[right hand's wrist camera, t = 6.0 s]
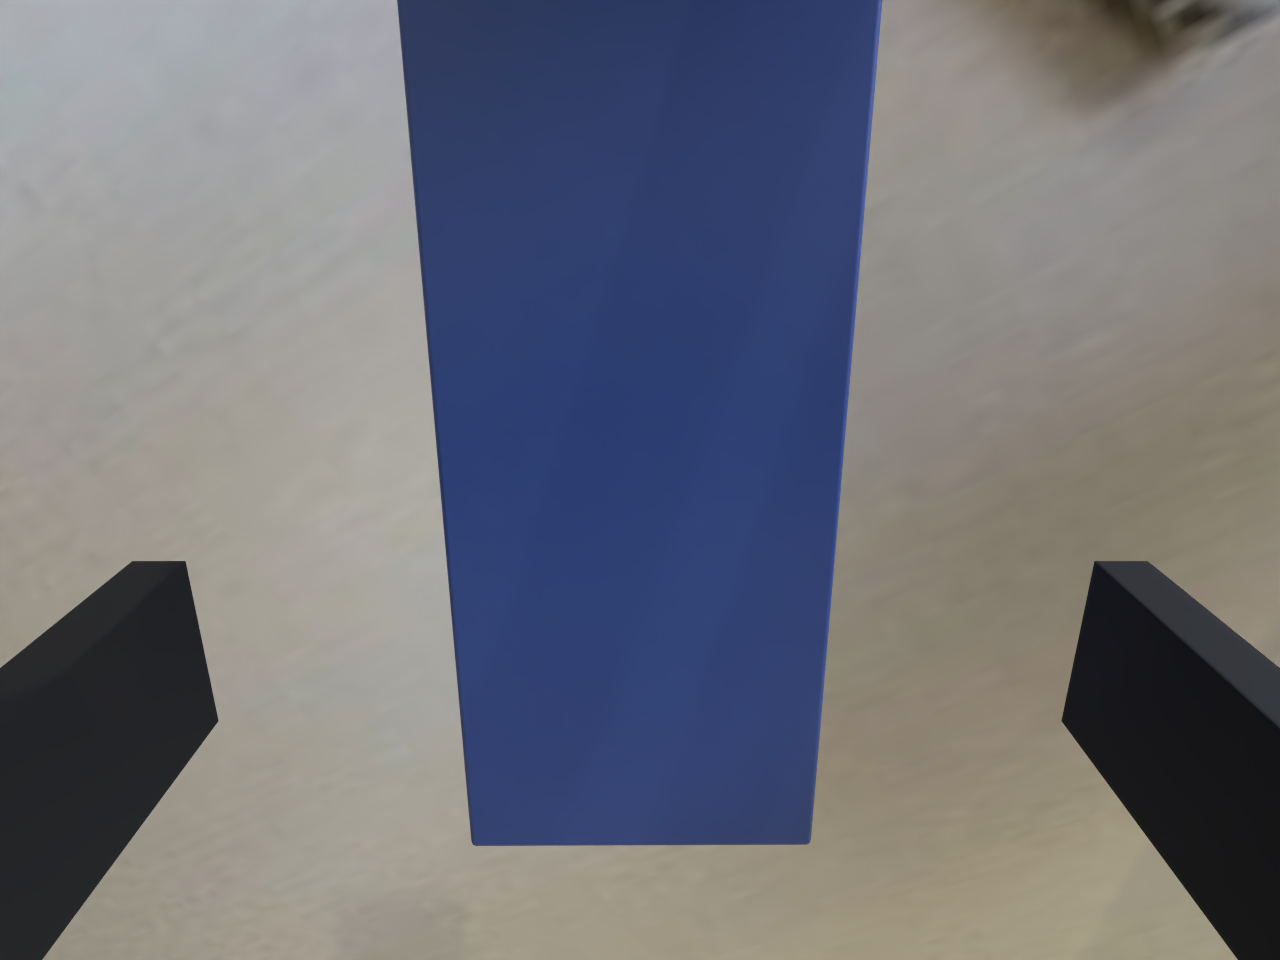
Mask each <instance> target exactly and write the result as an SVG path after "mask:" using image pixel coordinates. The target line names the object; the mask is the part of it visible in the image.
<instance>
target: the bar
mask: <svg viewBox="0 0 1280 960" xmlns="http://www.w3.org/2000/svg"><path fill="white" fill-rule="evenodd" d="M397 3H398V14H399V26H400V37H401V48H402V60H403V71H404V82H405V94H406V105H407V116H408V128H409V139H410V150H411V162H412V173H413V184H414V196H415V207H416V218H417V230H418V241H419V252H420V264H421V275H422V286H423V298H424V309H425V320H426V332H427V343H428V354H429V366H430V377H431V388H432V400H433V411H434V422H435V434H436V445H437V456H438V468H439V479H440V490H441V502H442V513H443V524H444V536H445V547H446V558H447V570H448V581H449V592H450V604H451V615H452V626H453V638H454V649H455V660H456V672H457V683H458V694H459V705H460V717H461V728H462V739H463V751H464V762H465V773H466V785H467V796H468V807H469V819H470V830H471V841H472V843H473V845H475V846H536V845H796V844H809V842H810V840H811V830H812V818H813V806H814V795H815V783H816V771H817V759H818V748H819V736H820V724H821V712H822V701H823V689H824V677H825V665H826V654H827V642H828V630H829V618H830V607H831V595H832V583H833V571H834V560H835V548H836V536H837V524H838V513H839V501H840V489H841V477H842V466H843V454H844V442H845V430H846V419H847V407H848V395H849V384H850V372H851V360H852V348H853V337H854V325H855V313H856V301H857V290H858V278H859V266H860V254H861V243H862V231H863V219H864V207H865V196H866V184H867V172H868V160H869V149H870V137H871V125H872V113H873V102H874V90H875V78H876V66H877V55H878V43H879V31H880V19H881V8H882V0H397Z"/></svg>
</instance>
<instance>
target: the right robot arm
mask: <svg viewBox="0 0 1280 960" xmlns="http://www.w3.org/2000/svg"><path fill="white" fill-rule="evenodd" d="M217 722H218V717H217V712H216V707H215V702H214V697H213V692H212V688H211V683H210V678H209V673H208V668H207V663H206V659H205V654H204V649H203V644H202V639H201V634H200V630H199V625H198V620H197V615H196V610H195V605H194V600H193V596H192V591H191V586H190V581H189V576H188V571H187V567H186V562H185V561H132V562H131V563H130V564H128V565H127V566H126V567H125V568H123V569H122V570H121V571H120V572H118V573H117V574H116V575H115V576H114V577H112V578H111V579H110V580H109V581H107V582H106V583H105V584H104V585H102V586H101V587H100V588H99V589H97V590H96V591H95V592H94V593H93V594H91V595H90V596H89V597H88V598H86V599H85V600H84V601H83V602H81V603H80V604H79V605H78V606H76V607H75V608H74V609H73V610H72V611H70V612H69V613H68V614H67V615H65V616H64V617H63V618H62V619H60V620H59V621H58V622H57V623H55V624H54V625H53V626H52V627H51V628H49V629H48V630H47V631H46V632H44V633H43V634H42V635H41V636H39V637H38V638H37V639H36V640H34V641H33V642H32V643H31V644H30V645H28V646H27V647H26V648H25V649H23V650H22V651H21V652H20V653H18V654H17V655H16V656H15V657H13V658H12V659H11V660H10V661H9V662H7V663H6V664H5V665H4V666H2V667H1V668H0V960H42V959H43V958H44V956H45V955H46V954H47V952H48V951H49V950H50V948H51V947H52V946H53V944H54V943H55V941H56V940H57V939H58V937H59V936H60V935H61V933H62V932H63V931H64V929H65V928H66V927H67V925H68V924H69V923H70V921H71V920H72V918H73V917H74V916H75V914H76V913H77V912H78V910H79V909H80V908H81V906H82V905H83V904H84V902H85V901H86V899H87V898H88V897H89V895H90V894H91V893H92V891H93V890H94V889H95V887H96V886H97V885H98V883H99V882H100V881H101V879H102V878H103V876H104V875H105V874H106V872H107V871H108V870H109V868H110V867H111V866H112V864H113V863H114V862H115V860H116V859H117V858H118V856H119V855H120V853H121V852H122V851H123V849H124V848H125V847H126V845H127V844H128V843H129V841H130V840H131V839H132V837H133V836H134V835H135V833H136V832H137V830H138V829H139V828H140V826H141V825H142V824H143V822H144V821H145V820H146V818H147V817H148V816H149V814H150V813H151V812H152V810H153V809H154V807H155V806H156V805H157V803H158V802H159V801H160V799H161V798H162V797H163V795H164V794H165V793H166V791H167V790H168V789H169V787H170V786H171V784H172V783H173V782H174V780H175V779H176V778H177V776H178V775H179V774H180V772H181V771H182V770H183V768H184V767H185V765H186V764H187V763H188V761H189V760H190V759H191V757H192V756H193V755H194V753H195V752H196V751H197V749H198V748H199V747H200V745H201V744H202V742H203V741H204V740H205V738H206V737H207V736H208V734H209V733H210V732H211V730H212V729H213V728H214V726H215V725H216V724H217ZM1062 722H1063V724H1064V725H1065V726H1066V728H1067V729H1068V730H1069V732H1070V733H1071V734H1072V736H1073V737H1074V738H1075V740H1076V741H1077V742H1078V744H1079V745H1080V747H1081V748H1082V749H1083V751H1084V752H1085V753H1086V755H1087V756H1088V757H1089V759H1090V760H1091V761H1092V763H1093V764H1094V765H1095V767H1096V768H1097V770H1098V771H1099V772H1100V774H1101V775H1102V776H1103V778H1104V779H1105V780H1106V782H1107V783H1108V784H1109V786H1110V787H1111V789H1112V790H1113V791H1114V793H1115V794H1116V795H1117V797H1118V798H1119V799H1120V801H1121V802H1122V803H1123V805H1124V806H1125V807H1126V809H1127V810H1128V812H1129V813H1130V814H1131V816H1132V817H1133V818H1134V820H1135V821H1136V822H1137V824H1138V825H1139V826H1140V828H1141V829H1142V830H1143V832H1144V833H1145V835H1146V836H1147V837H1148V839H1149V840H1150V841H1151V843H1152V844H1153V845H1154V847H1155V848H1156V849H1157V851H1158V852H1159V853H1160V855H1161V856H1162V858H1163V859H1164V860H1165V862H1166V863H1167V864H1168V866H1169V867H1170V868H1171V870H1172V871H1173V872H1174V874H1175V875H1176V876H1177V878H1178V879H1179V881H1180V882H1181V883H1182V885H1183V886H1184V887H1185V889H1186V890H1187V891H1188V893H1189V894H1190V895H1191V897H1192V898H1193V899H1194V901H1195V902H1196V904H1197V905H1198V906H1199V908H1200V909H1201V910H1202V912H1203V913H1204V914H1205V916H1206V917H1207V918H1208V920H1209V921H1210V923H1211V924H1212V925H1213V927H1214V928H1215V929H1216V931H1217V932H1218V933H1219V935H1220V936H1221V937H1222V939H1223V940H1224V941H1225V943H1226V944H1227V946H1228V947H1229V948H1230V950H1231V951H1232V952H1233V954H1234V955H1235V956H1236V958H1237V959H1238V960H1280V668H1279V667H1278V666H1276V665H1275V664H1274V663H1273V662H1271V661H1270V660H1269V659H1268V658H1267V657H1265V656H1264V655H1263V654H1262V653H1260V652H1259V651H1258V650H1257V649H1255V648H1254V647H1253V646H1252V645H1250V644H1249V643H1248V642H1247V641H1246V640H1244V639H1243V638H1242V637H1241V636H1239V635H1238V634H1237V633H1236V632H1234V631H1233V630H1232V629H1231V628H1229V627H1228V626H1227V625H1226V624H1225V623H1223V622H1222V621H1221V620H1220V619H1218V618H1217V617H1216V616H1215V615H1213V614H1212V613H1211V612H1210V611H1208V610H1207V609H1206V608H1205V607H1204V606H1202V605H1201V604H1200V603H1199V602H1197V601H1196V600H1195V599H1194V598H1192V597H1191V596H1190V595H1189V594H1187V593H1186V592H1185V591H1184V590H1183V589H1181V588H1180V587H1179V586H1178V585H1176V584H1175V583H1174V582H1173V581H1171V580H1170V579H1169V578H1168V577H1166V576H1165V575H1164V574H1163V573H1162V572H1160V571H1159V570H1158V569H1157V568H1155V567H1154V566H1153V565H1152V564H1150V563H1149V562H1148V561H1095V562H1094V567H1093V571H1092V576H1091V581H1090V586H1089V591H1088V596H1087V600H1086V605H1085V610H1084V615H1083V620H1082V625H1081V630H1080V634H1079V639H1078V644H1077V649H1076V654H1075V659H1074V663H1073V668H1072V673H1071V678H1070V683H1069V688H1068V692H1067V697H1066V702H1065V707H1064V712H1063V717H1062Z"/></svg>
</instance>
